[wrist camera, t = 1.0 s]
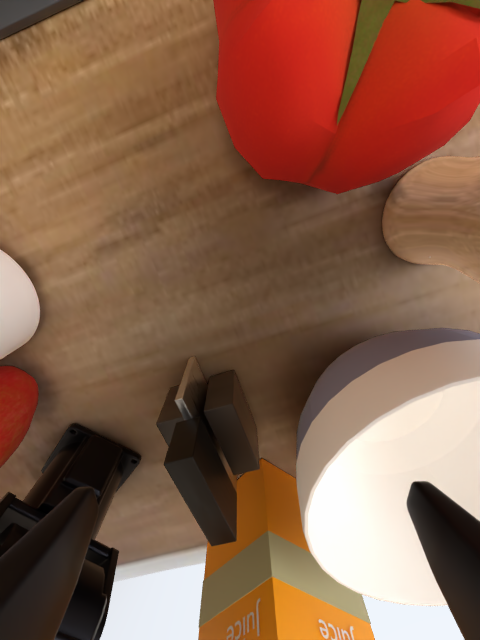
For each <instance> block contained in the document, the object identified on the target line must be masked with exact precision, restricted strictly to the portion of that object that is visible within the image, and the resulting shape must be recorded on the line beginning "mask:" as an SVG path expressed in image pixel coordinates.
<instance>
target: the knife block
mask: <svg viewBox="0 0 480 640" xmlns="http://www.w3.org/2000/svg"><path fill="white" fill-rule="evenodd" d="M179 386H180V385H179ZM179 386H175V387H172V388H170V389H169V392H168V395H167V397H166V400H165V403H164V405H163V408H162V410H161V413H160V416H159V418H158V421H157V423H156V424H157V427H158V428H159V430H160V432H161V434H162V436H163V437H164V439H165V441H166V443H167V445H168V446H169V445H170V441H171V438H172V434H173V431H174V428H175V424H176V423H177V422H181V421H184V418H183V416H182V414H181V412H180V410H179V408H178V406H177V404H176V402H175V398H176V395H177V392H178V389H179ZM204 413H205V415H206V418H207V420H208V422H209V424H210V426H211V428H212V430H213V433H214V435H215V437H216V439H217V441H218V443H219V445H220V448H221V450H222V452H223V454H224V456H225V458H226V460H227V463H228V465H229V467H230V469H231V471H232V473H233V475H238V474H242V473H246V472H250V471H254V470H259V469H260V464H259V451H258V438H257V428H256V425H255V422H254V420H253V417H252V415H251V412H250V410H249V407H248V404H247V402H246V399H245V397H244V394H243V392H242V389H241V386H240V384H239V381H238V379H237V376H236V374H235V371H234V370H232V371H228V372H225V373H221V374H218V375H214V376H211V377H210V378H209V384H208V390H207V395H206V401H205V407H204Z"/></svg>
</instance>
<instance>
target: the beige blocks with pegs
mask: <svg viewBox="0 0 480 640" xmlns="http://www.w3.org/2000/svg"><path fill="white" fill-rule="evenodd" d="M81 1H83V0H0V40H1V39H3V38H5V37H7V36H9V35H11V34H13V33H15V32H17V31H19V30H22V29H24V28H26V27H28V26H30V25H32V24H34V23H36V22H38V21H41V20H43V19H45V18H47V17H49V16H51V15H53V14H55V13H57V12H60V11H62V10H64V9H66V8H68V7H70V6H72V5H74V4H76V3H79V2H81Z"/></svg>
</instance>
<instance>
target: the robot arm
mask: <svg viewBox="0 0 480 640" xmlns="http://www.w3.org/2000/svg"><path fill="white" fill-rule="evenodd" d="M134 459H135V460H134ZM140 460H141V456H140V455H139V454H137V453H135V452H133V451H131V450H129V449H127V448H125V447H123V446H121V445H119V444H117V443H115V442H113V441H111V440H109V439H107V438H105V437H103V436H100V435H98V434H96V433H94V432H92V431H90V430H88V429H86V428H84V427H82V426H80V425H78V424H71V425H70V426H69V428H68V429H67V430H66V432H65V434H64V435H63V437H62V438H61V440H60V442H59V443H58V445H57V446H56V448H55V449H54V451H53V453H52V454H51V456H50V457H49V459H48V461H47V462H46V464H45V465H44V467H43V468H42V473H43V474H42V475H41V477H40V478H39V480H38V481H37V482H36V484H35V485H34V486H33V488H32V489H31V490H30V492H29V493H28V495H27V496H26V497H25V499H24V500H23V501H21V500H19V499H17V498H15V497H16V495H14V494H12V493H10V492H8V493H7V494H6V495H5V496H4V497H3V498H2V499H1V500H0V640H99V639H100V637H101V634H102V632H103V628H104V625H105V622H106V617H107V614H108V608H109V603H110V597H111V591H112V586H113V581H114V575H115V570H116V564H117V559H118V553H119V551H118V550H116V549H115V548H113V547H112V548H109V547H107V546H105V545H104V544H102V543H100V542H98V541H96V540H95V538H96V536H97V534H98V531H99V529H100V527H101V524H102V522H103V520H104V517H105V515H106V513H107V511H108V508H109V506H110V504H111V501H112V499H113V497H114V494H115V493H116V492H117V491H118V489H119V488H120V487H121V486H122V484H123V483H124V482H125V481H126V479H127V478H128V477H129V476H130V474H131V473H132V472H133V471H134V469H135V468H136V467H137V466H138V464H139V462H140ZM406 504H407V509H408V512H409V515H410V517H411V520H412V522H413V525H414V527H415V530H416V533H417V535H418V538H419V540H420V543H421V545H422V548H423V550H424V553H425V555H426V558H427V561H428V563H429V566H430V568H431V570H432V573H433V575H434V577H435V579H436V582H437V584H438V586H439V588H440V590H441V592H442V594H443V596H444V598H445V600H446V602H447V604H448V606H449V608H450V610H451V612H452V614H453V617H454V619H455V621H456V623H457V625H458V627H459V629H460V631H461V633H462V635H463V637H464V639H465V640H480V521H479V520H478V519H476V518H475V517H474V516H472V515H471V514H470V513H469V512H467V511H466V510H465V509H463V508H462V507H461V506H460V505H458V504H457V503H456V502H455V501H453V500H452V499H451V498H449V497H448V496H447V495H446V494H444V493H443V492H442V491H440V490H439V489H438V488H437V487H435V486H434V485H433V484H431V483H430V482H427V481H414V482H413V483H412V484H411V487H410V490H409V494H408V497H407V503H406Z"/></svg>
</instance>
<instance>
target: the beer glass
mask: <svg viewBox="0 0 480 640" xmlns="http://www.w3.org/2000/svg"><path fill="white" fill-rule="evenodd" d="M382 230H383V235H384V238H385V241H386V243H387V245H388V247H389V248H390V249H391V251H392V252H393V253H394V254H395V255H397V256H398V257H399V258H401V259H403V260H405V261H407V262H411V263H415V264H426V265H446V266H449V267H452V268H454V269H456V270H458V271H460V272H461V273H463V274H465V275H467V276H468V277H470V278H472V279H473V280H475V281H476V282H478V283H480V156H478V157H458V156H442V157H436V158H432V159H429V160H427V161H424V162H422V163H420V164H419V165H417V166H415V167H414V168H412V169H411V170H410V171H408V172H407V173H406V174H405V175H404V176H403V177H402V178H401V179H400V180H399V181H398V182H397V184H396V185H395V186H394V188H393V189H392V191H391V193H390V194H389V196H388V199H387V201H386V204H385V207H384V210H383V216H382Z"/></svg>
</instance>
